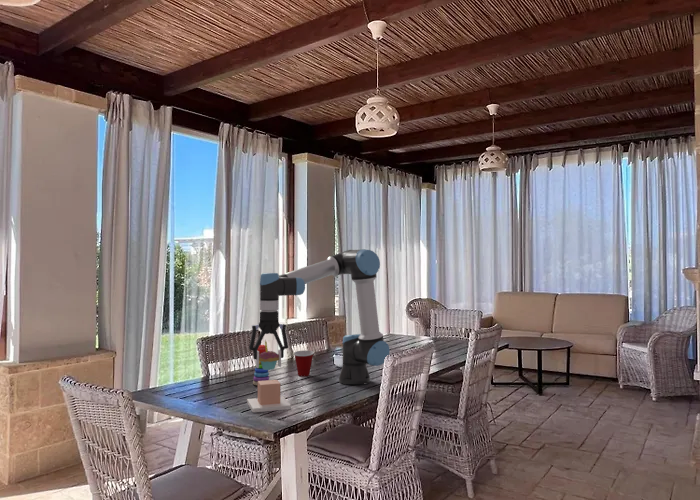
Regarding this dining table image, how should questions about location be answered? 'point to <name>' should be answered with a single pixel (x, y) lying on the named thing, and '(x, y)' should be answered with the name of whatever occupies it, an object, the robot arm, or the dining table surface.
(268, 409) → the base plate
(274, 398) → the tan cube
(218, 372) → the dining table surface
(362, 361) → the robot arm
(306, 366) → the plastic cup
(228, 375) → the dining table surface
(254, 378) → the stacking toy
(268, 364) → the cupcake
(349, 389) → the dining table surface
